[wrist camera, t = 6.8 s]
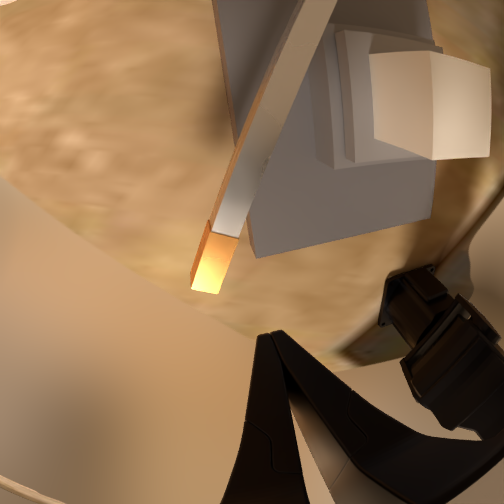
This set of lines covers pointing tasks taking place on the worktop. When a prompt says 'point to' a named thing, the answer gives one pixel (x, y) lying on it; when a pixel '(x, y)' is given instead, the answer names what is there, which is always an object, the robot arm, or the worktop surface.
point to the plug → (411, 100)
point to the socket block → (319, 129)
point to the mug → (6, 2)
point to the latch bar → (258, 141)
